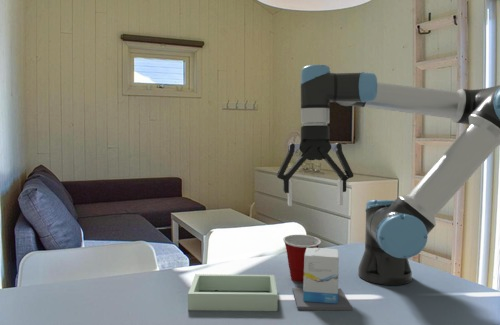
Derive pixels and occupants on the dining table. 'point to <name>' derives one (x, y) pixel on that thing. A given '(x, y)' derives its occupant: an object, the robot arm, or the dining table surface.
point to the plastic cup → (298, 253)
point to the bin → (233, 293)
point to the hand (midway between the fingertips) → (314, 204)
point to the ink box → (321, 275)
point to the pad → (304, 305)
